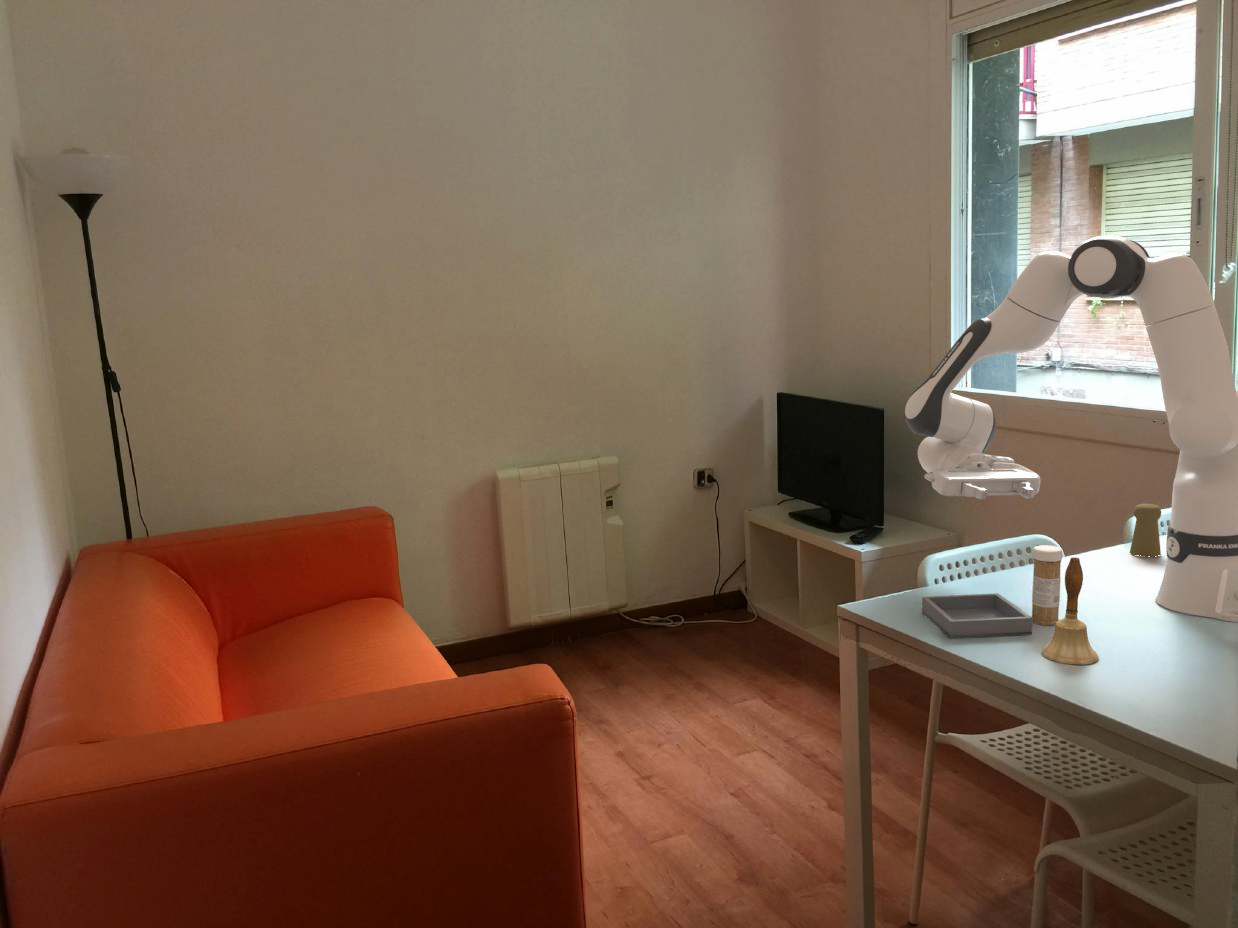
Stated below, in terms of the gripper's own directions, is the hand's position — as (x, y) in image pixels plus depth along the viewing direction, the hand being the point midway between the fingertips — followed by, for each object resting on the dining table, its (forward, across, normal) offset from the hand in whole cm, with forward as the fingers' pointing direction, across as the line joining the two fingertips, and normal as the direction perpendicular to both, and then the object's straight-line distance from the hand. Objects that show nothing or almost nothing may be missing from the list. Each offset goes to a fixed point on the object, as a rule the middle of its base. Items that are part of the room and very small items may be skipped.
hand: (1007, 494), depth 180 cm
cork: (-18, +47, +21) cm, 54 cm away
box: (+13, -11, +19) cm, 26 cm away
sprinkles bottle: (+16, +1, +19) cm, 24 cm away
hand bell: (+31, -5, +17) cm, 36 cm away
